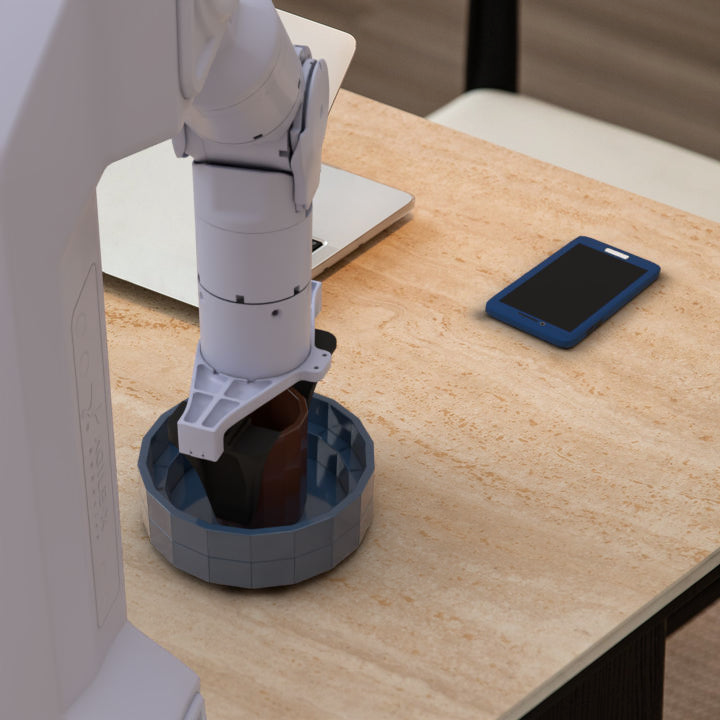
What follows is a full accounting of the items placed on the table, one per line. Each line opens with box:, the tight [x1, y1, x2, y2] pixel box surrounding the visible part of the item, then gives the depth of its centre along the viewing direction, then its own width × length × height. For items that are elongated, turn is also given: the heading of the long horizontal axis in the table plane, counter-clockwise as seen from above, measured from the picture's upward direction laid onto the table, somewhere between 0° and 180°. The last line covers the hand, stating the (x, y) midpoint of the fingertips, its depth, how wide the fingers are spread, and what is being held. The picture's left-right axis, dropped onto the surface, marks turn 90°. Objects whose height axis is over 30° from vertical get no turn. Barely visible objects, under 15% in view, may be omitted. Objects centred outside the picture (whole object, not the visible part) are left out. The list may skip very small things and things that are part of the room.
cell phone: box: [484, 235, 662, 349], centre depth 92 cm, size 7×14×1 cm, turn 141°
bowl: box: [136, 391, 376, 590], centre depth 70 cm, size 13×13×4 cm
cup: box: [211, 386, 308, 529], centre depth 69 cm, size 5×6×7 cm
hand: (257, 479), depth 70 cm, fingers open, 6 cm apart
